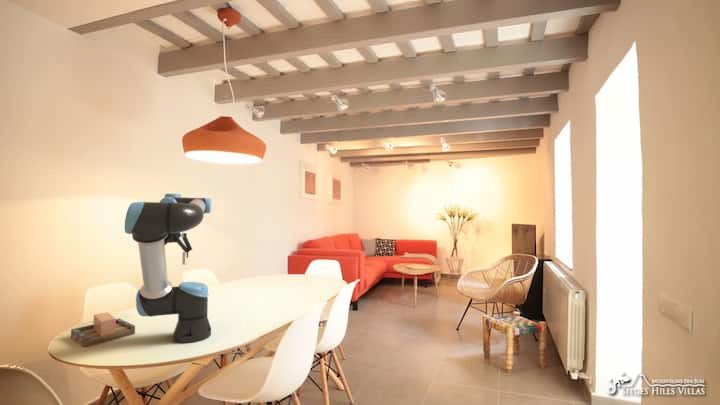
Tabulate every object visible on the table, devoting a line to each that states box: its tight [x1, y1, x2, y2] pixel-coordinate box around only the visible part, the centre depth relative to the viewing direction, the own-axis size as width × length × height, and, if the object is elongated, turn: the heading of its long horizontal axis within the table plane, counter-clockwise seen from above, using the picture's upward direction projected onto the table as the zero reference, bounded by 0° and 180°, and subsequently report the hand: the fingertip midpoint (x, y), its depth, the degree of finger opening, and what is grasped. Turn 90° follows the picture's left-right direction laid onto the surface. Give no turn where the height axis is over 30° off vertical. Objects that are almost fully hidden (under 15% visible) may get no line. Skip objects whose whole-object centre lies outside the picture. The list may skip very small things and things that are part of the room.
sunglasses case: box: [93, 311, 117, 336], centre depth 147 cm, size 13×5×6 cm, turn 49°
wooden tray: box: [70, 318, 136, 348], centre depth 148 cm, size 16×18×4 cm
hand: (171, 266), depth 171 cm, fingers open, 13 cm apart
